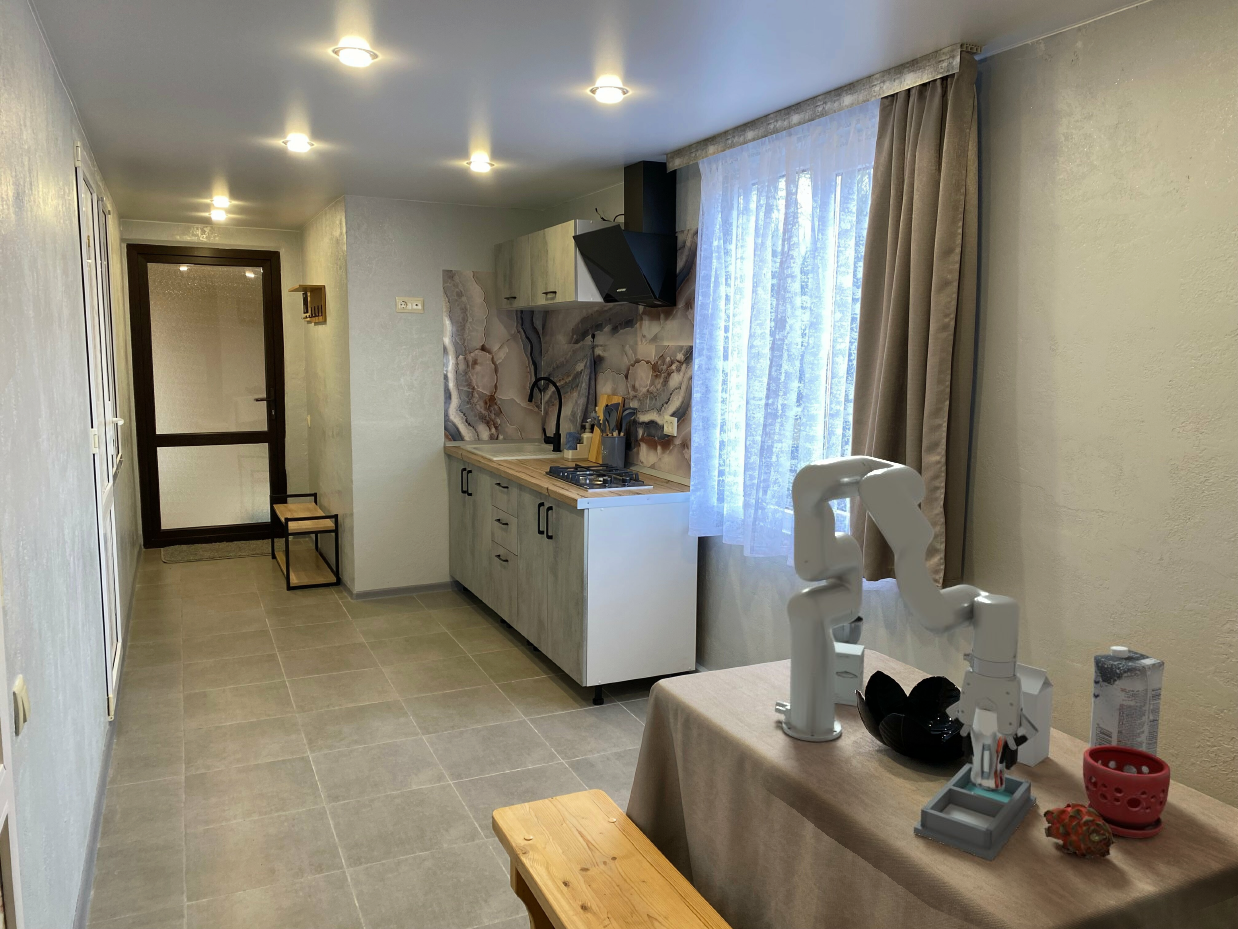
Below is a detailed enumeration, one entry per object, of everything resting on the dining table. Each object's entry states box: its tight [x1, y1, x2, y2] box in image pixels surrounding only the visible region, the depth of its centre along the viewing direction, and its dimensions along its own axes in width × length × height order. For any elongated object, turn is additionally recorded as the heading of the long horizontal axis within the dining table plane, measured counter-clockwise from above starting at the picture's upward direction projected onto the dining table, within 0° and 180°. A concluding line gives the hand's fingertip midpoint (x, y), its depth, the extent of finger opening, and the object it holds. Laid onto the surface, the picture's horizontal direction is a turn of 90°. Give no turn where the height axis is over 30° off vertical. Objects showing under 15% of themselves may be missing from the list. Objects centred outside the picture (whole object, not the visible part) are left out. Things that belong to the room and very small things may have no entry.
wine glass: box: [830, 614, 864, 645], centre depth 225 cm, size 8×8×15 cm
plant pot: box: [1082, 745, 1171, 839], centre depth 156 cm, size 13×13×12 cm
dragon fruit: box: [1042, 801, 1116, 859], centre depth 148 cm, size 8×8×12 cm
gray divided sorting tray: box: [913, 762, 1037, 862], centre depth 158 cm, size 13×24×4 cm, turn 140°
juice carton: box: [1088, 645, 1165, 780], centre depth 166 cm, size 9×10×27 cm
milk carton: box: [1017, 662, 1054, 767], centre depth 181 cm, size 7×7×19 cm
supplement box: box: [833, 641, 866, 707], centre depth 211 cm, size 7×7×13 cm
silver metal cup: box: [969, 707, 1008, 792], centre depth 161 cm, size 7×7×15 cm
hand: (989, 760), depth 162 cm, fingers closed on silver metal cup, 6 cm apart
